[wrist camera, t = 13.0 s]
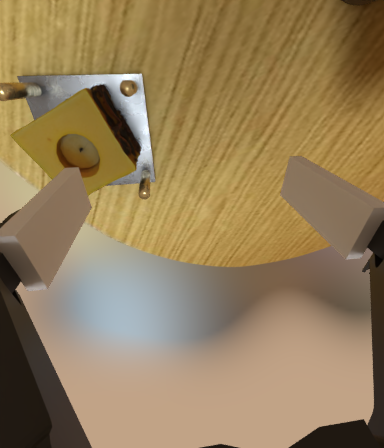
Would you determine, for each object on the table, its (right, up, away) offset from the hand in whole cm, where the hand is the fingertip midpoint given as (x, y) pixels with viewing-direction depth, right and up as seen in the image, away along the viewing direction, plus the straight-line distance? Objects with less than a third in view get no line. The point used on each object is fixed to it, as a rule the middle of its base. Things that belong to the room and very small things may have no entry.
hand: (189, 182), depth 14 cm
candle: (-15, +11, +19) cm, 27 cm away
